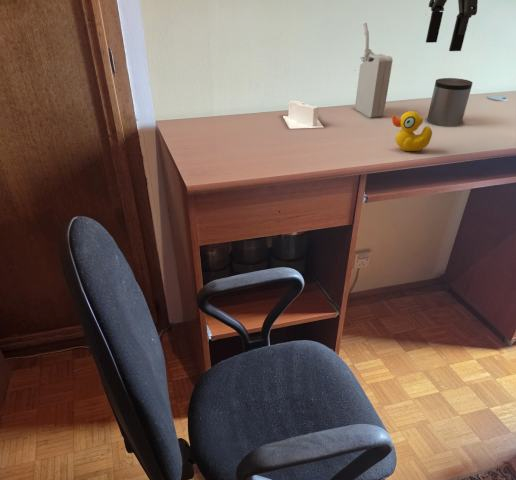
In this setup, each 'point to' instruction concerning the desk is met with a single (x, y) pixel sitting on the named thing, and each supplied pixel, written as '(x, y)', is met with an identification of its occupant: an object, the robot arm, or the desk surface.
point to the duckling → (411, 132)
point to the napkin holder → (302, 116)
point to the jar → (449, 101)
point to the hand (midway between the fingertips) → (442, 46)
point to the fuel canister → (373, 82)
